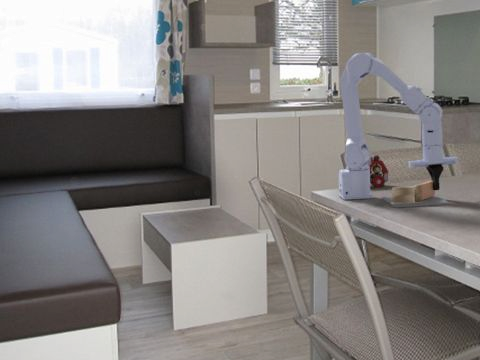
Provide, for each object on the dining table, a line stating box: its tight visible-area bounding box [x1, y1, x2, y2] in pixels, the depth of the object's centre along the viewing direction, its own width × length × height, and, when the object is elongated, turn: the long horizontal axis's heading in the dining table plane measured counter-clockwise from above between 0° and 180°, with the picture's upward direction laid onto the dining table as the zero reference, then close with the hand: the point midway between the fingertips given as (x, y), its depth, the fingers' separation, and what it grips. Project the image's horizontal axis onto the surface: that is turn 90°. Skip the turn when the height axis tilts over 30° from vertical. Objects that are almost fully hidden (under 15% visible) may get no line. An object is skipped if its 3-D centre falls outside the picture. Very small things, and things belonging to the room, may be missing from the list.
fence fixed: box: [391, 184, 421, 203], centre depth 205 cm, size 8×2×5 cm, turn 93°
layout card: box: [381, 194, 451, 208], centre depth 209 cm, size 16×14×1 cm
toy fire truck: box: [368, 155, 389, 189], centre depth 237 cm, size 7×12×10 cm, turn 91°
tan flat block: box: [417, 180, 436, 200], centre depth 209 cm, size 8×1×4 cm, turn 138°
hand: (434, 189), depth 211 cm, fingers closed, pressing on tan flat block
